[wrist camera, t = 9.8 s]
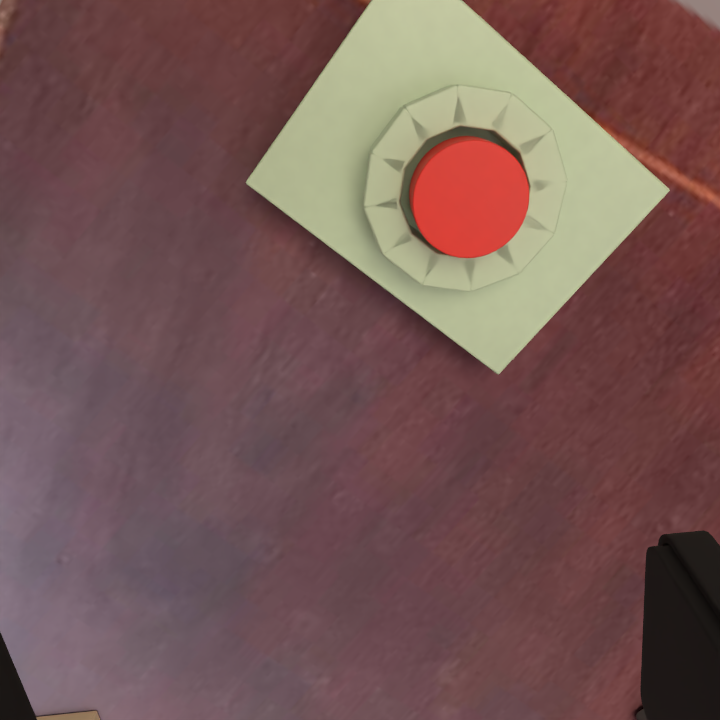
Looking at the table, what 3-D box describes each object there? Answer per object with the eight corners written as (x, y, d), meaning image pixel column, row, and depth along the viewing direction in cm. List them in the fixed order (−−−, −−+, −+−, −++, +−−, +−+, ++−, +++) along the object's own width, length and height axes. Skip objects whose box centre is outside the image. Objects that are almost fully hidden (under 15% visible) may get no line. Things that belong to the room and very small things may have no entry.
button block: (254, 175, 26) (235, 190, 22) (402, -39, 23) (410, -63, 19) (488, 354, 28) (507, 394, 25) (647, 181, 26) (694, 198, 22)
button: (387, 202, 22) (388, 211, 21) (457, 111, 21) (465, 113, 20) (468, 267, 23) (476, 281, 22) (540, 183, 22) (554, 190, 21)
